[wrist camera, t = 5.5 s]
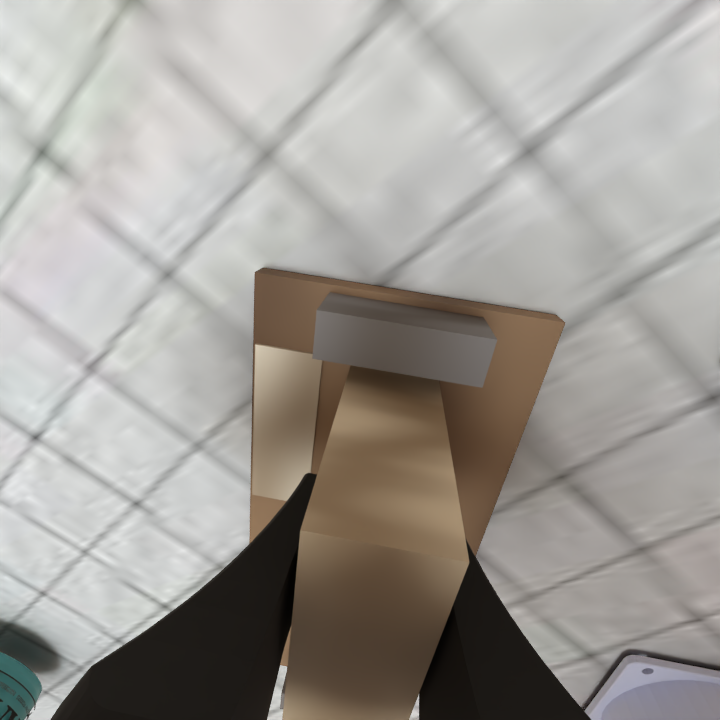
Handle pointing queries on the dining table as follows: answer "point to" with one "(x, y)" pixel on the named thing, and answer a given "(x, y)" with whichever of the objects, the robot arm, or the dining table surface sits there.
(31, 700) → the beverage bottle
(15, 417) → the dining table surface
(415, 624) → the tall tan box
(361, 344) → the brown board with blocks
